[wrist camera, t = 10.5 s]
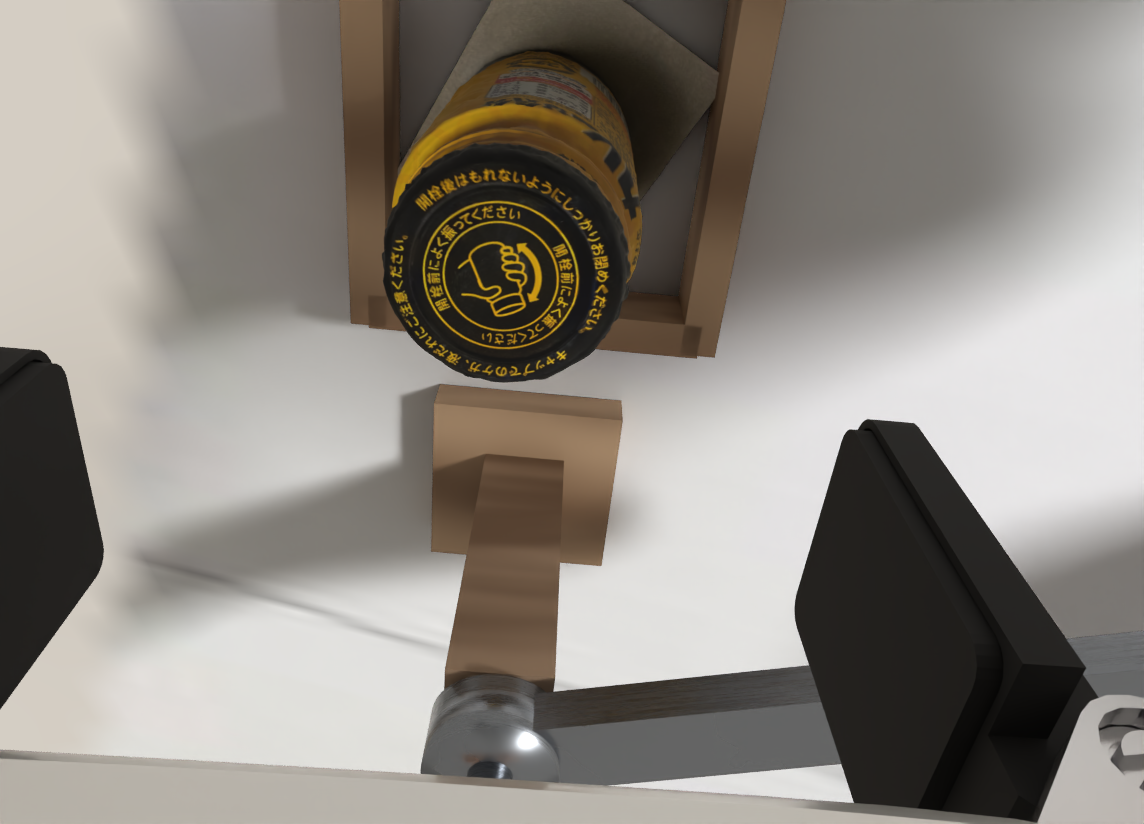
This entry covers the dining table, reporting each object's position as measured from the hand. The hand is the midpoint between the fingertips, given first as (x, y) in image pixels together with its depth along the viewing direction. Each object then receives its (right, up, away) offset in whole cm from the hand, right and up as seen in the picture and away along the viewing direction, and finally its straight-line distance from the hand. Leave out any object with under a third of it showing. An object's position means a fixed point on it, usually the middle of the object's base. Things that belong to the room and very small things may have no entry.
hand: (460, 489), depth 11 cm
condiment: (+1, +10, +17) cm, 20 cm away
